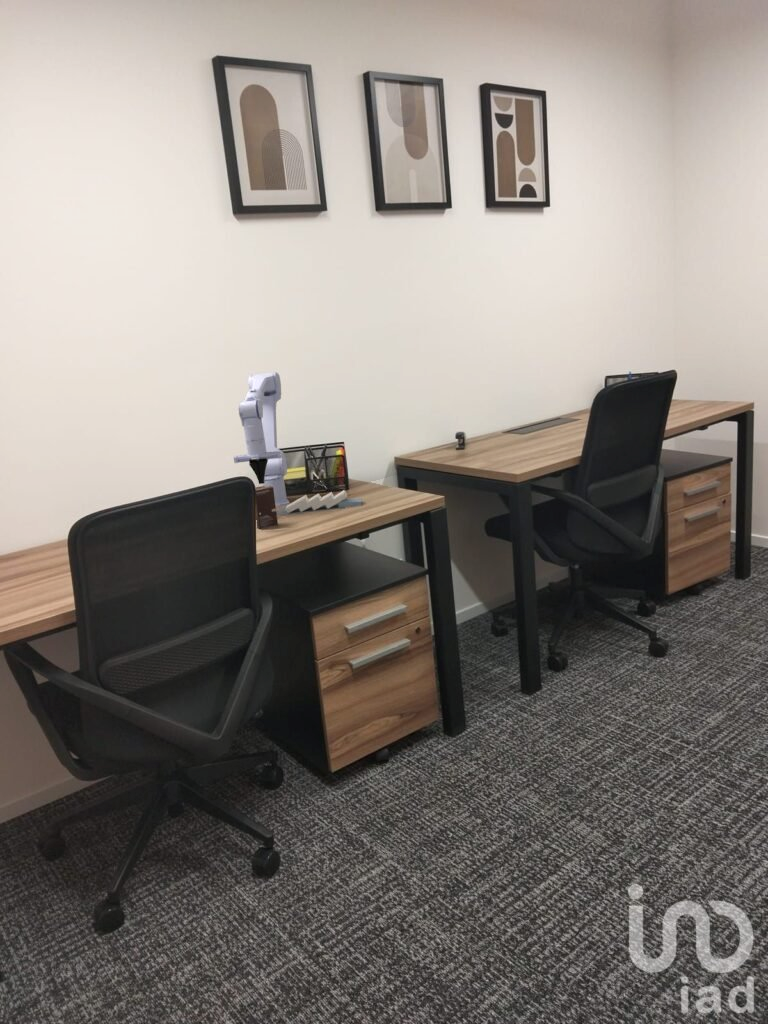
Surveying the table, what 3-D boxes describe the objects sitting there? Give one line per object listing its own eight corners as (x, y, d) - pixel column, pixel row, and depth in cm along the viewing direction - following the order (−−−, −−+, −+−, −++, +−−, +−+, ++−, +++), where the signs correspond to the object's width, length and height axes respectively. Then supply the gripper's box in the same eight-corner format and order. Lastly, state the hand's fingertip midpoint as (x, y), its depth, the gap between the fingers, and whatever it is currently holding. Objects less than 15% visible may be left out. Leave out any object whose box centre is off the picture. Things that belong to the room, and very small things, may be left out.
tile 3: (311, 506, 228) (330, 495, 227) (312, 502, 233) (331, 491, 232) (313, 510, 228) (333, 499, 228) (315, 506, 233) (334, 496, 232)
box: (260, 531, 213) (254, 490, 210) (254, 528, 216) (248, 488, 213) (279, 526, 216) (273, 486, 213) (273, 523, 219) (267, 484, 216)
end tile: (338, 502, 228) (361, 501, 228) (339, 498, 233) (361, 498, 233) (338, 507, 228) (361, 506, 228) (339, 503, 233) (361, 503, 233)
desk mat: (274, 517, 227) (274, 516, 227) (280, 506, 242) (280, 505, 242) (345, 509, 227) (345, 508, 227) (347, 498, 241) (346, 497, 241)
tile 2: (298, 507, 228) (317, 496, 227) (299, 504, 233) (318, 493, 232) (301, 512, 228) (320, 501, 228) (302, 508, 233) (321, 497, 233)
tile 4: (325, 504, 228) (344, 492, 227) (325, 501, 233) (344, 489, 232) (327, 508, 228) (346, 497, 228) (328, 505, 233) (347, 494, 233)
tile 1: (285, 509, 228) (304, 498, 227) (287, 505, 233) (306, 494, 232) (288, 513, 228) (307, 502, 228) (289, 509, 233) (308, 499, 233)
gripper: (229, 444, 221) (236, 488, 225) (277, 439, 221) (283, 483, 224) (233, 441, 228) (240, 483, 232) (279, 435, 228) (286, 478, 231)
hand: (261, 483), depth 228 cm, fingers closed
